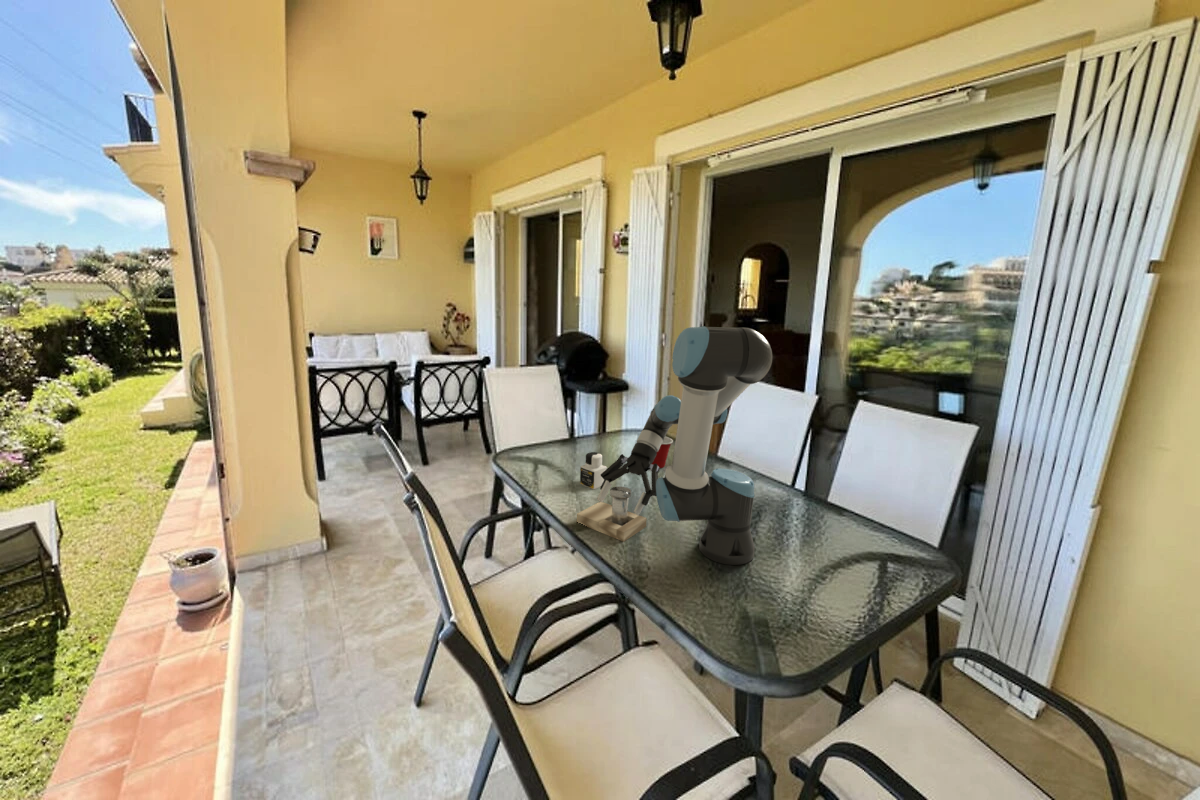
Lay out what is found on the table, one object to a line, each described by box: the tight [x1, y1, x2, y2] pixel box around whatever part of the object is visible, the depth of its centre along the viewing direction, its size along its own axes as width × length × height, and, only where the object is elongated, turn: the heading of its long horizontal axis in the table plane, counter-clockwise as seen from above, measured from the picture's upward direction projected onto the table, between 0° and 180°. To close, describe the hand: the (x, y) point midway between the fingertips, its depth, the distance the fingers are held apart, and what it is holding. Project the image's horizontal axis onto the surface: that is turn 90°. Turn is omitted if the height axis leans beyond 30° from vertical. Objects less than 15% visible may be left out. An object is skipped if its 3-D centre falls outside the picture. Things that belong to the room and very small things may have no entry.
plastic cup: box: [652, 436, 674, 469], centre depth 205 cm, size 11×11×12 cm
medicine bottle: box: [579, 451, 608, 490], centre depth 184 cm, size 7×7×12 cm
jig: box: [576, 501, 648, 543], centre depth 154 cm, size 18×12×3 cm, turn 52°
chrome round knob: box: [609, 486, 632, 526], centre depth 152 cm, size 6×6×12 cm
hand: (617, 507), depth 151 cm, fingers open, 13 cm apart
